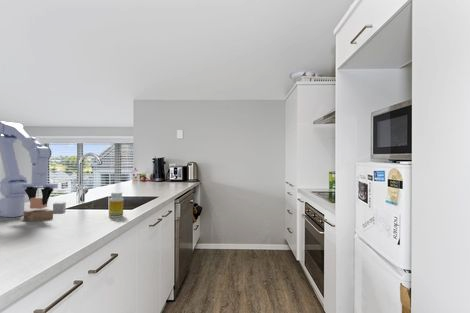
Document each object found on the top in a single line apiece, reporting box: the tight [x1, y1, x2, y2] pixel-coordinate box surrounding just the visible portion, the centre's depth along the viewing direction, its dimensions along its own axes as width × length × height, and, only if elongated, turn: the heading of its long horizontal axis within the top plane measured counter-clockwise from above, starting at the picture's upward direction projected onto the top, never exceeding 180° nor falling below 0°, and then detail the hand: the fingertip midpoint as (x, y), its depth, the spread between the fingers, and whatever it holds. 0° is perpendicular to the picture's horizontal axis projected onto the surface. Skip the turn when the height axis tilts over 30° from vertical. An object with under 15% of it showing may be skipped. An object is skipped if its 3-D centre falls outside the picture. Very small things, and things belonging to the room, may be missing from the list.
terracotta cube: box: [29, 196, 48, 210], centre depth 125 cm, size 4×4×4 cm
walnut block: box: [22, 208, 54, 223], centre depth 124 cm, size 8×8×4 cm
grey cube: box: [52, 201, 67, 214], centre depth 142 cm, size 4×4×4 cm
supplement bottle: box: [108, 191, 125, 219], centre depth 134 cm, size 6×6×11 cm
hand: (38, 204), depth 125 cm, fingers closed on terracotta cube, 4 cm apart
